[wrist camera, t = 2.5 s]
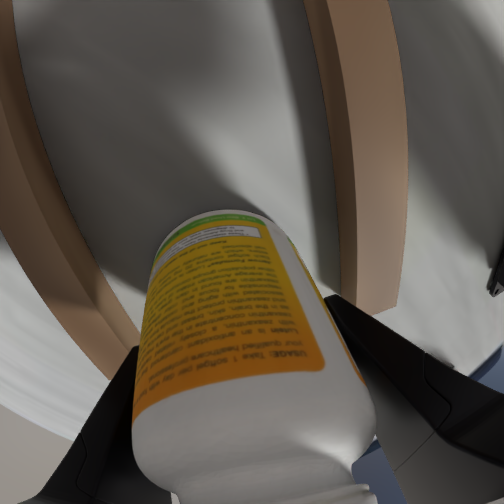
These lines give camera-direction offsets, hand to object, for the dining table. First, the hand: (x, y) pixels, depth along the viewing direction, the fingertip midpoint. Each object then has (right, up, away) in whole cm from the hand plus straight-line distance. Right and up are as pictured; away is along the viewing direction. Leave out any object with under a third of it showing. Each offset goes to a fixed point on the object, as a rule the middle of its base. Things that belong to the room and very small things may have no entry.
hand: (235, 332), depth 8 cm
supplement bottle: (-1, +2, +3) cm, 3 cm away
